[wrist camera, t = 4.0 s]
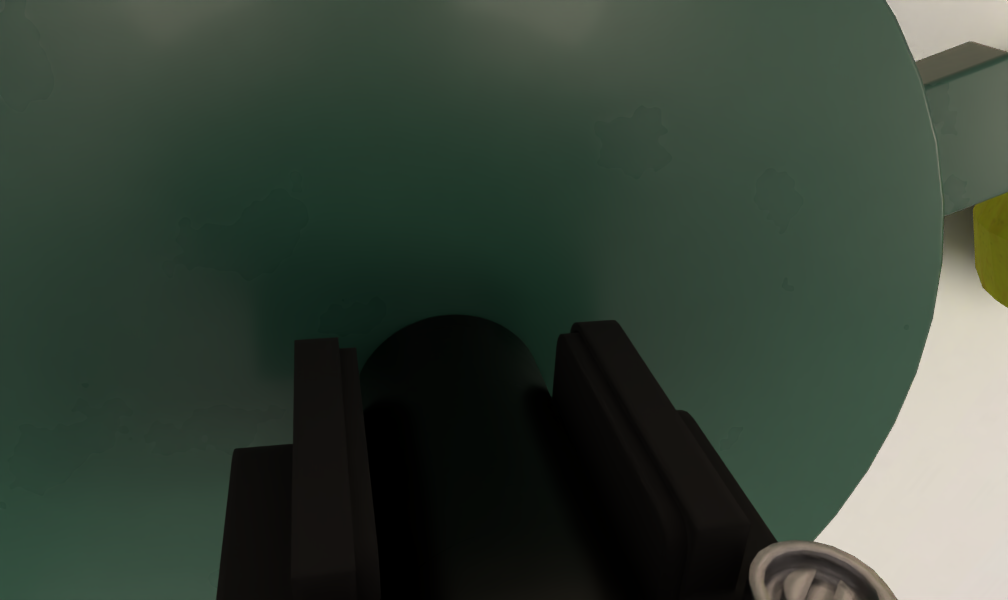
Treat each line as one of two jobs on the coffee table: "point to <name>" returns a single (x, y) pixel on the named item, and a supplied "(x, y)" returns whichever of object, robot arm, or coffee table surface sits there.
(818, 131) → the lid
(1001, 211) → the fruit
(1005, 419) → the coffee table surface
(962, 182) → the pot
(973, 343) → the coffee table surface
